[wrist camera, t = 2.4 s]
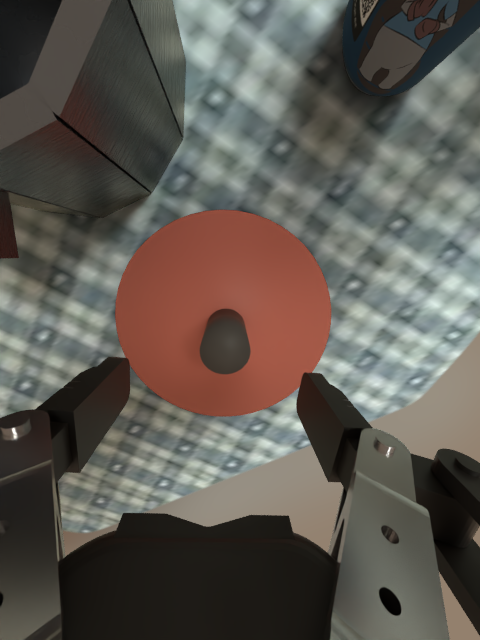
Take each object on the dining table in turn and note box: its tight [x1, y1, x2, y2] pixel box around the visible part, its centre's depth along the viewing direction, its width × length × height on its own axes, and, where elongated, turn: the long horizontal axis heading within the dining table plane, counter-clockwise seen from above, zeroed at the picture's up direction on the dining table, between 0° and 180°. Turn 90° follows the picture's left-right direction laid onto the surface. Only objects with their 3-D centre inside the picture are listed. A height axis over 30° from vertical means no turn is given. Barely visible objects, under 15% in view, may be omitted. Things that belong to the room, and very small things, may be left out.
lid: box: [115, 210, 331, 416], centre depth 17 cm, size 18×18×7 cm
